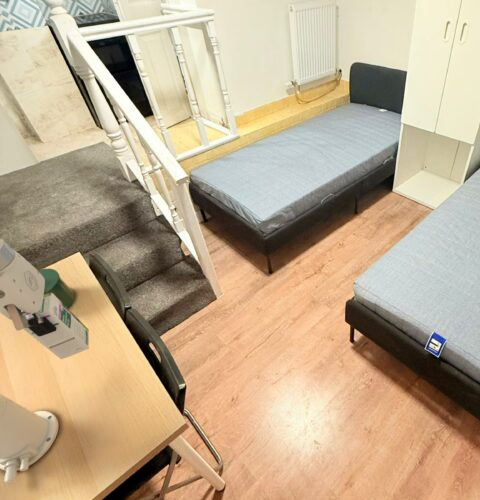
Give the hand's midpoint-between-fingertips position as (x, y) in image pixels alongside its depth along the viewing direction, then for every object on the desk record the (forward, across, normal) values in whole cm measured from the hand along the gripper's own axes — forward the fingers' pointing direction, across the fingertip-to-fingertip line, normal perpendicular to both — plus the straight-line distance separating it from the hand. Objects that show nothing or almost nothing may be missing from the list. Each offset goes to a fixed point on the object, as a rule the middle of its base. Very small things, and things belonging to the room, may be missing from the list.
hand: (48, 319), depth 69 cm
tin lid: (+19, +36, +16) cm, 44 cm away
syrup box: (+10, 0, 0) cm, 10 cm away
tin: (+29, +37, +16) cm, 49 cm away
